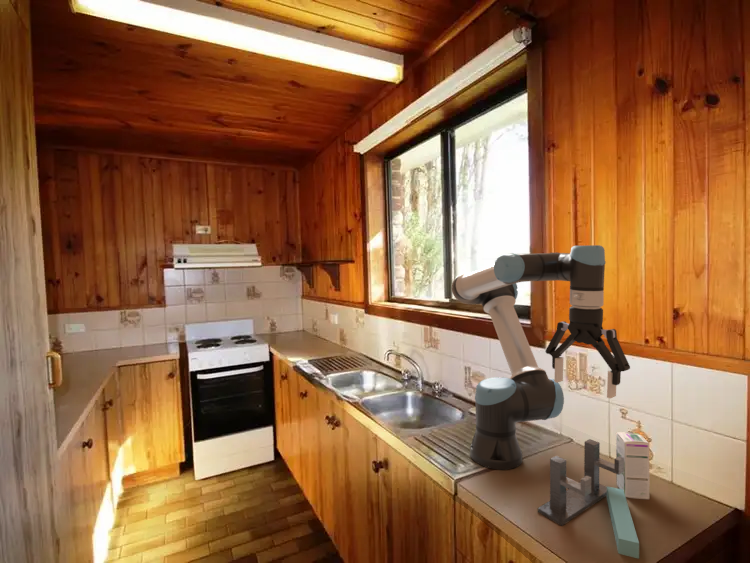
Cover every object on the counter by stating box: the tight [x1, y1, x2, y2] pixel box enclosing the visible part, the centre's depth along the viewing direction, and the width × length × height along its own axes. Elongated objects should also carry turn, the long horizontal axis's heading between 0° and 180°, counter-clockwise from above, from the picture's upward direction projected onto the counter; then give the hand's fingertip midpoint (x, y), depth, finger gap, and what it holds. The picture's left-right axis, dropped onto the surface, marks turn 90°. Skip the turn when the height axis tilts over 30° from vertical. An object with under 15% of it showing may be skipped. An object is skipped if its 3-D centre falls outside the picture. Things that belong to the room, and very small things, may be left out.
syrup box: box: [615, 431, 651, 500], centre depth 99 cm, size 6×6×14 cm
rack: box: [537, 438, 624, 527], centre depth 94 cm, size 10×22×13 cm, turn 123°
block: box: [606, 486, 640, 559], centre depth 88 cm, size 4×20×4 cm, turn 155°
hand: (583, 388), depth 100 cm, fingers open, 13 cm apart
